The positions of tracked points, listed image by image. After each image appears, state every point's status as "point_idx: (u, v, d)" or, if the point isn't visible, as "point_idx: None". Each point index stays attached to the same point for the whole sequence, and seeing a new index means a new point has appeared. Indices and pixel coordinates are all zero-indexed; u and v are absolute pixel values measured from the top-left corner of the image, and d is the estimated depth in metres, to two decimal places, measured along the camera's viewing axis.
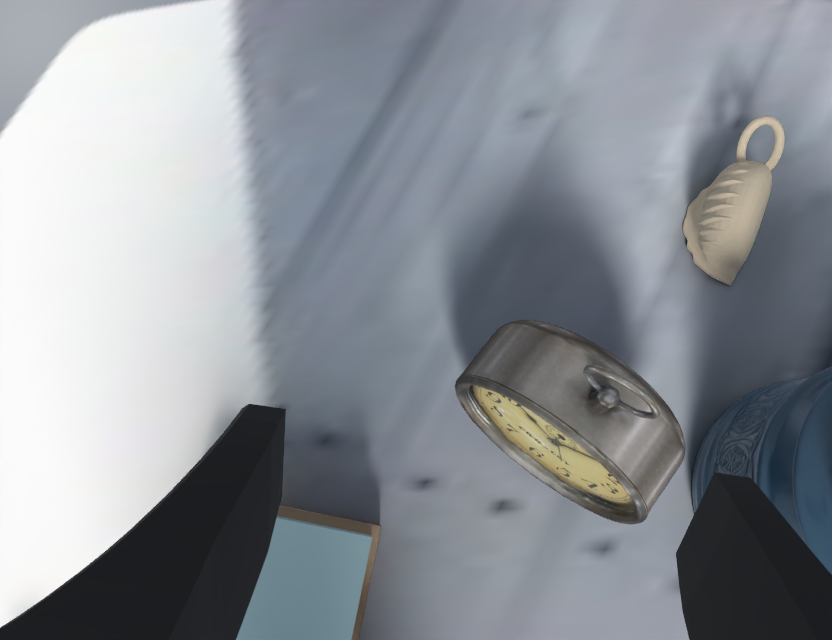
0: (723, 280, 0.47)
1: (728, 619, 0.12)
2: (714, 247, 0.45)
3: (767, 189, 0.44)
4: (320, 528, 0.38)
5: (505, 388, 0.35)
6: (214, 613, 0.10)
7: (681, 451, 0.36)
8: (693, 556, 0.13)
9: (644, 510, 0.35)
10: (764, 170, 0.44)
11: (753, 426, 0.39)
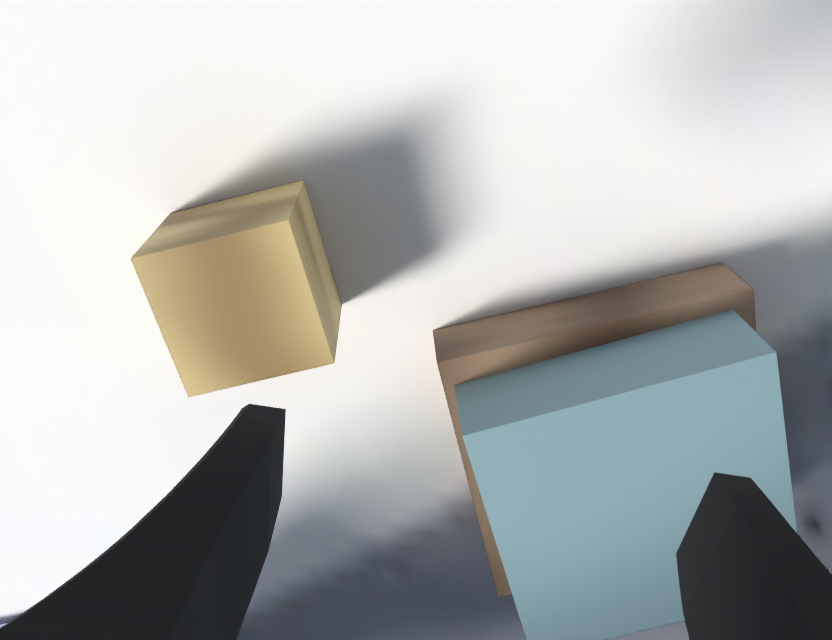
0: None
1: (728, 619, 0.12)
2: None
3: None
4: None
5: None
6: (214, 613, 0.10)
7: None
8: (693, 556, 0.13)
9: None
10: None
11: None
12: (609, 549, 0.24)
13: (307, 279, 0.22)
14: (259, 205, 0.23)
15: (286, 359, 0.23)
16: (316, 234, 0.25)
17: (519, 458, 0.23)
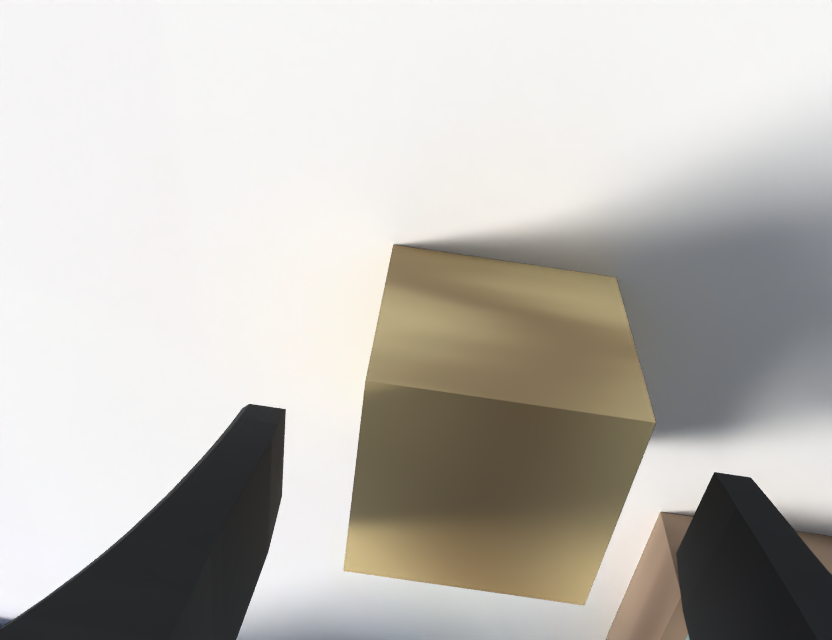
0: None
1: (728, 619, 0.12)
2: None
3: None
4: None
5: None
6: (214, 613, 0.10)
7: None
8: (693, 557, 0.13)
9: None
10: None
11: None
12: None
13: (623, 501, 0.13)
14: (566, 323, 0.14)
15: (519, 578, 0.14)
16: None
17: None
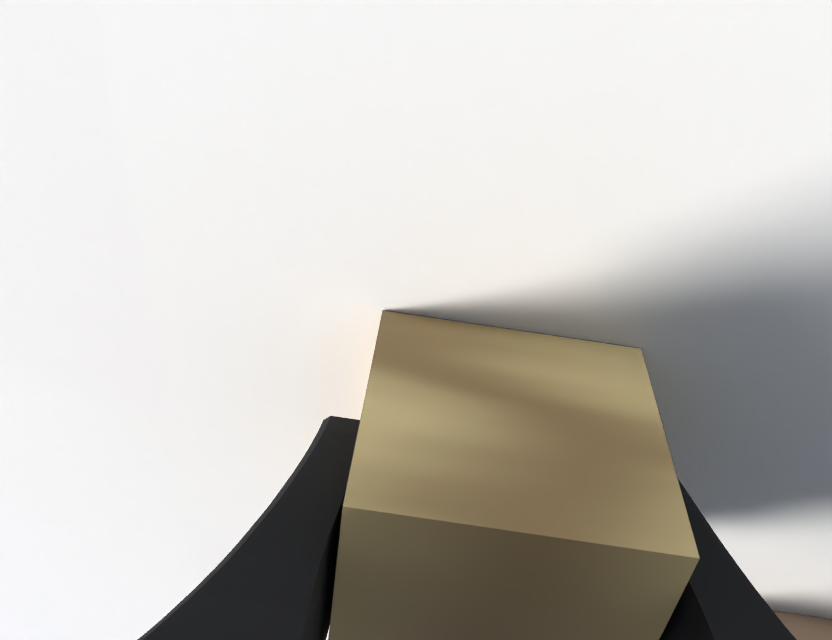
0: None
1: None
2: None
3: None
4: None
5: None
6: (314, 628, 0.10)
7: None
8: None
9: None
10: None
11: None
12: None
13: (655, 639, 0.11)
14: (585, 416, 0.12)
15: None
16: None
17: None
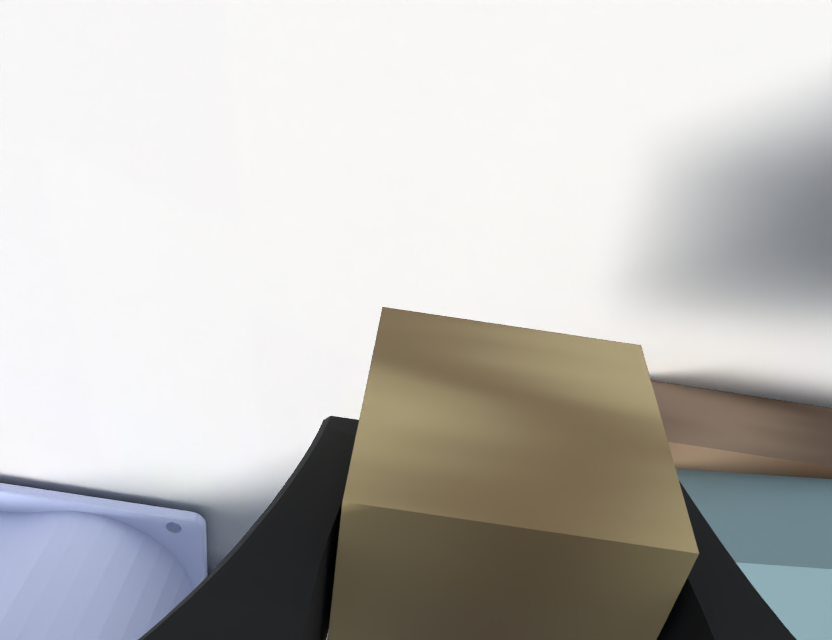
0: None
1: None
2: None
3: None
4: None
5: None
6: (314, 627, 0.10)
7: None
8: None
9: None
10: None
11: None
12: None
13: (655, 635, 0.11)
14: (585, 412, 0.12)
15: None
16: None
17: None
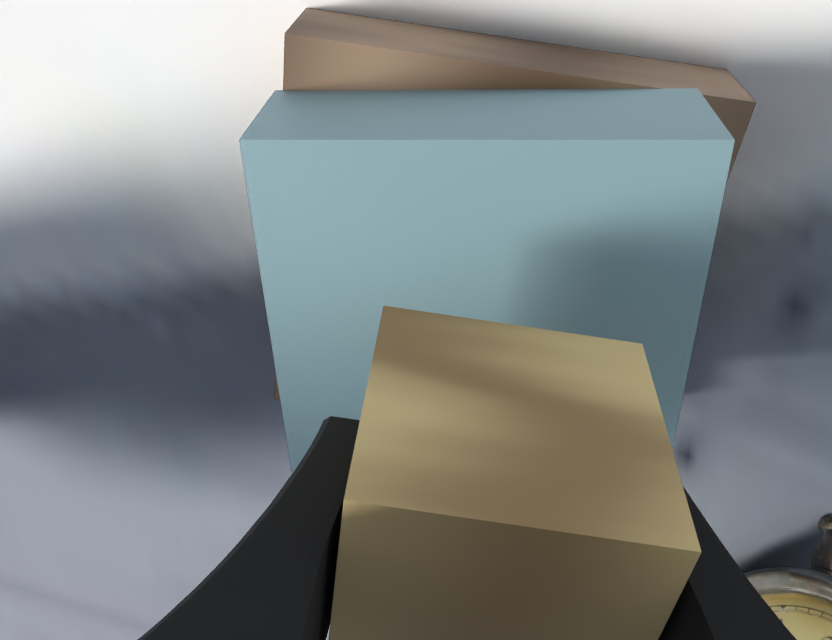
0: None
1: None
2: None
3: None
4: (675, 419, 0.18)
5: None
6: (314, 627, 0.10)
7: None
8: None
9: None
10: None
11: None
12: None
13: (656, 634, 0.11)
14: (586, 410, 0.12)
15: None
16: None
17: (320, 201, 0.15)
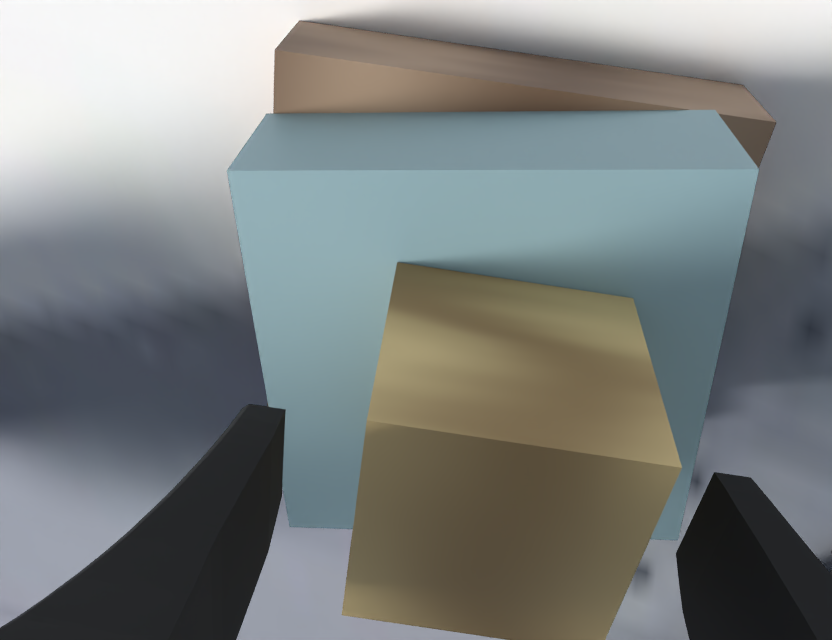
0: None
1: (728, 619, 0.12)
2: None
3: None
4: (692, 459, 0.17)
5: None
6: (214, 613, 0.10)
7: None
8: (692, 557, 0.13)
9: None
10: None
11: None
12: None
13: (643, 547, 0.12)
14: (582, 352, 0.13)
15: (529, 625, 0.13)
16: None
17: (314, 235, 0.14)
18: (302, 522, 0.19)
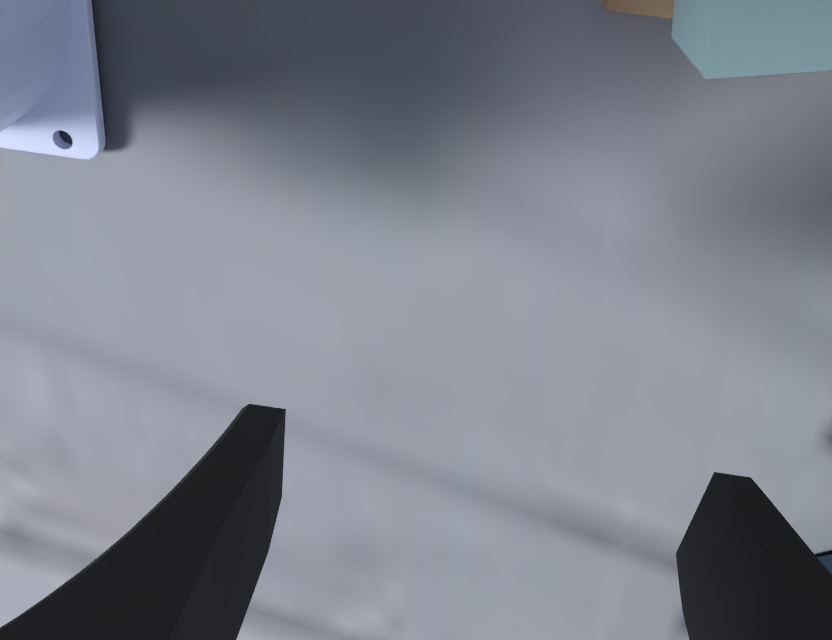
0: None
1: (728, 619, 0.12)
2: None
3: None
4: None
5: None
6: (214, 613, 0.10)
7: None
8: (692, 557, 0.13)
9: None
10: None
11: None
12: None
13: None
14: None
15: None
16: None
17: None
18: (724, 68, 0.14)
